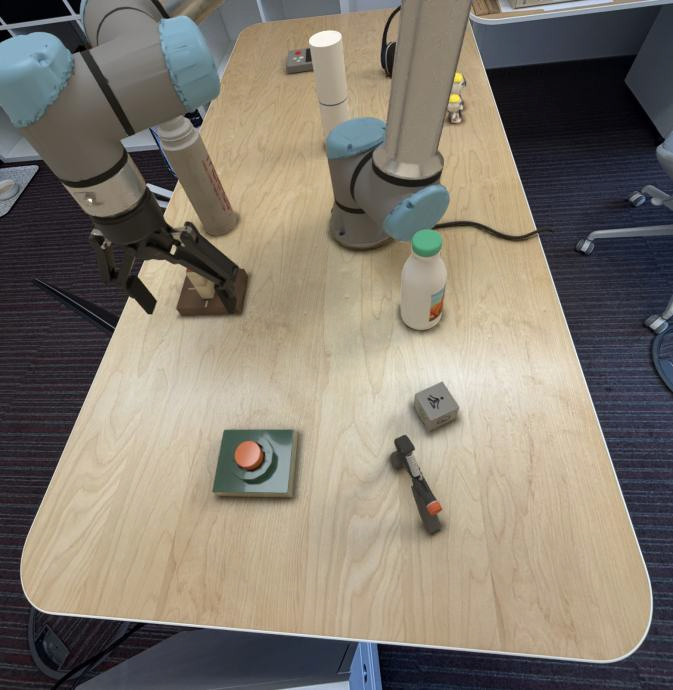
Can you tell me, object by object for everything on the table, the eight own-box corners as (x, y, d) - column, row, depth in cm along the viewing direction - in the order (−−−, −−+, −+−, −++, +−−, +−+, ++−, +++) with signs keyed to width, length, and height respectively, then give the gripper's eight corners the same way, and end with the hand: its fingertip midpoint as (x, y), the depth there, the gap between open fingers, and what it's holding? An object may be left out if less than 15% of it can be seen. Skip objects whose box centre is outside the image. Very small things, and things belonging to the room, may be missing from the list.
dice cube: (413, 406, 70) (414, 394, 66) (439, 394, 70) (442, 381, 66) (428, 431, 67) (430, 420, 63) (455, 418, 68) (459, 407, 64)
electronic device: (287, 49, 136) (332, 43, 135) (289, 58, 138) (333, 51, 137) (286, 65, 131) (333, 59, 129) (288, 74, 133) (334, 67, 131)
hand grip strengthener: (428, 537, 59) (437, 522, 47) (388, 459, 66) (386, 427, 53) (442, 530, 60) (455, 513, 47) (401, 452, 66) (402, 419, 53)
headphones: (448, 78, 120) (456, 1, 104) (437, 90, 118) (443, 13, 102) (390, 65, 128) (389, -8, 112) (378, 76, 125) (375, 3, 110)
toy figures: (461, 125, 108) (466, 92, 101) (444, 125, 109) (447, 92, 102) (463, 99, 114) (468, 66, 107) (447, 99, 115) (450, 67, 107)
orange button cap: (265, 444, 65) (261, 440, 63) (262, 470, 63) (258, 467, 61) (241, 444, 65) (236, 440, 64) (236, 470, 63) (232, 466, 62)
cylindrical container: (321, 151, 110) (303, 46, 88) (331, 135, 113) (316, 29, 91) (346, 155, 107) (334, 47, 86) (356, 138, 111) (346, 31, 89)
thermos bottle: (240, 213, 101) (192, 96, 77) (230, 236, 97) (176, 121, 73) (211, 211, 103) (155, 97, 79) (200, 234, 99) (137, 121, 75)
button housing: (297, 435, 70) (291, 425, 66) (292, 497, 65) (284, 490, 60) (230, 435, 71) (219, 425, 67) (219, 495, 66) (207, 489, 62)
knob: (207, 278, 88) (191, 250, 81) (218, 277, 87) (202, 250, 80) (202, 298, 85) (184, 272, 78) (213, 298, 85) (196, 271, 78)
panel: (247, 276, 90) (243, 267, 88) (240, 313, 85) (236, 305, 83) (191, 278, 92) (186, 271, 89) (181, 315, 87) (175, 308, 84)
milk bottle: (414, 338, 77) (419, 265, 60) (392, 309, 81) (391, 234, 64) (449, 319, 78) (464, 243, 61) (426, 292, 82) (433, 213, 65)
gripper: (6, 225, 47) (112, 327, 65) (211, 217, 44) (263, 327, 62) (35, 182, 51) (128, 289, 69) (226, 172, 48) (271, 288, 66)
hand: (192, 307), depth 66 cm, fingers open, 13 cm apart
